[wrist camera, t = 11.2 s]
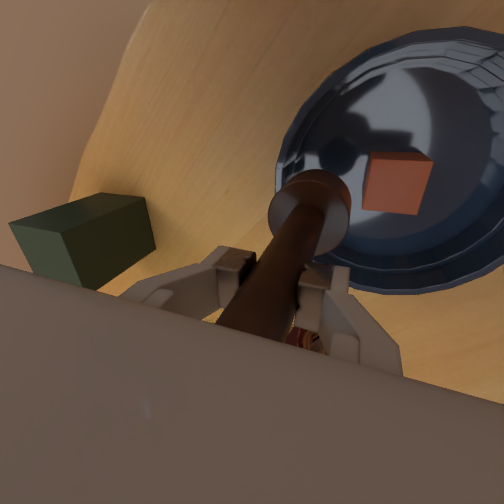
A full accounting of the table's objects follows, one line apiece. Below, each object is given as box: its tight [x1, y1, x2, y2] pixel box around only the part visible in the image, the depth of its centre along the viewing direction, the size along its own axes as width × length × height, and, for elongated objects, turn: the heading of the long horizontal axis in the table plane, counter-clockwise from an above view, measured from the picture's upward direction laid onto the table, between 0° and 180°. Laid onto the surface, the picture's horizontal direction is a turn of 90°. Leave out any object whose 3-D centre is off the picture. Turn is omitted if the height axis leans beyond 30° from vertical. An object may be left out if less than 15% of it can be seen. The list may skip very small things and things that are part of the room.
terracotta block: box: [362, 151, 434, 215], centre depth 21 cm, size 4×4×4 cm
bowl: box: [275, 26, 504, 295], centre depth 21 cm, size 18×18×6 cm
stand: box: [8, 193, 156, 291], centre depth 33 cm, size 8×8×12 cm
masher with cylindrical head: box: [215, 169, 352, 343], centre depth 11 cm, size 5×5×14 cm
